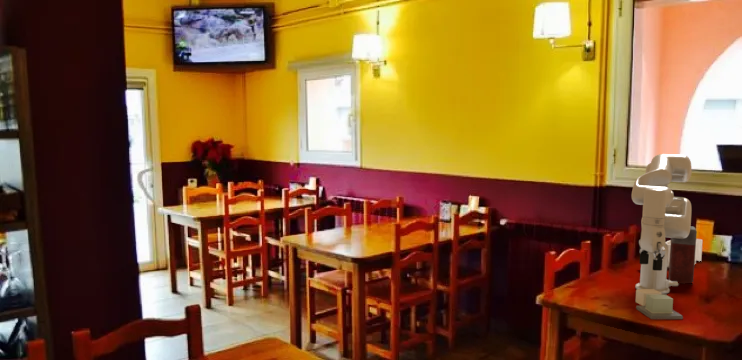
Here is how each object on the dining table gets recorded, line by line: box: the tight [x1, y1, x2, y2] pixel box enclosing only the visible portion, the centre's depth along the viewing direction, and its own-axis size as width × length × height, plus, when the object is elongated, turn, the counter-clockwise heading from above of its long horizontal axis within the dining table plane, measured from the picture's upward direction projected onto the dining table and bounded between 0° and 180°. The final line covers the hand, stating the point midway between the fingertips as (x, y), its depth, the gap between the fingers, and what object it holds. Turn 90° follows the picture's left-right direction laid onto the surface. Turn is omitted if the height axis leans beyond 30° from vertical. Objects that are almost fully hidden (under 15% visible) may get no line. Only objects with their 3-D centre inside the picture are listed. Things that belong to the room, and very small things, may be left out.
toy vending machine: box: [667, 226, 698, 284], centre depth 251 cm, size 9×11×28 cm
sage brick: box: [646, 294, 674, 313], centre depth 207 cm, size 7×5×5 cm
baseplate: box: [635, 305, 684, 320], centre depth 207 cm, size 11×11×1 cm
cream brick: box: [635, 288, 663, 306], centre depth 218 cm, size 7×5×5 cm
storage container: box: [665, 238, 704, 268], centre depth 281 cm, size 25×11×11 cm, turn 137°
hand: (650, 267), depth 217 cm, fingers open, 9 cm apart
